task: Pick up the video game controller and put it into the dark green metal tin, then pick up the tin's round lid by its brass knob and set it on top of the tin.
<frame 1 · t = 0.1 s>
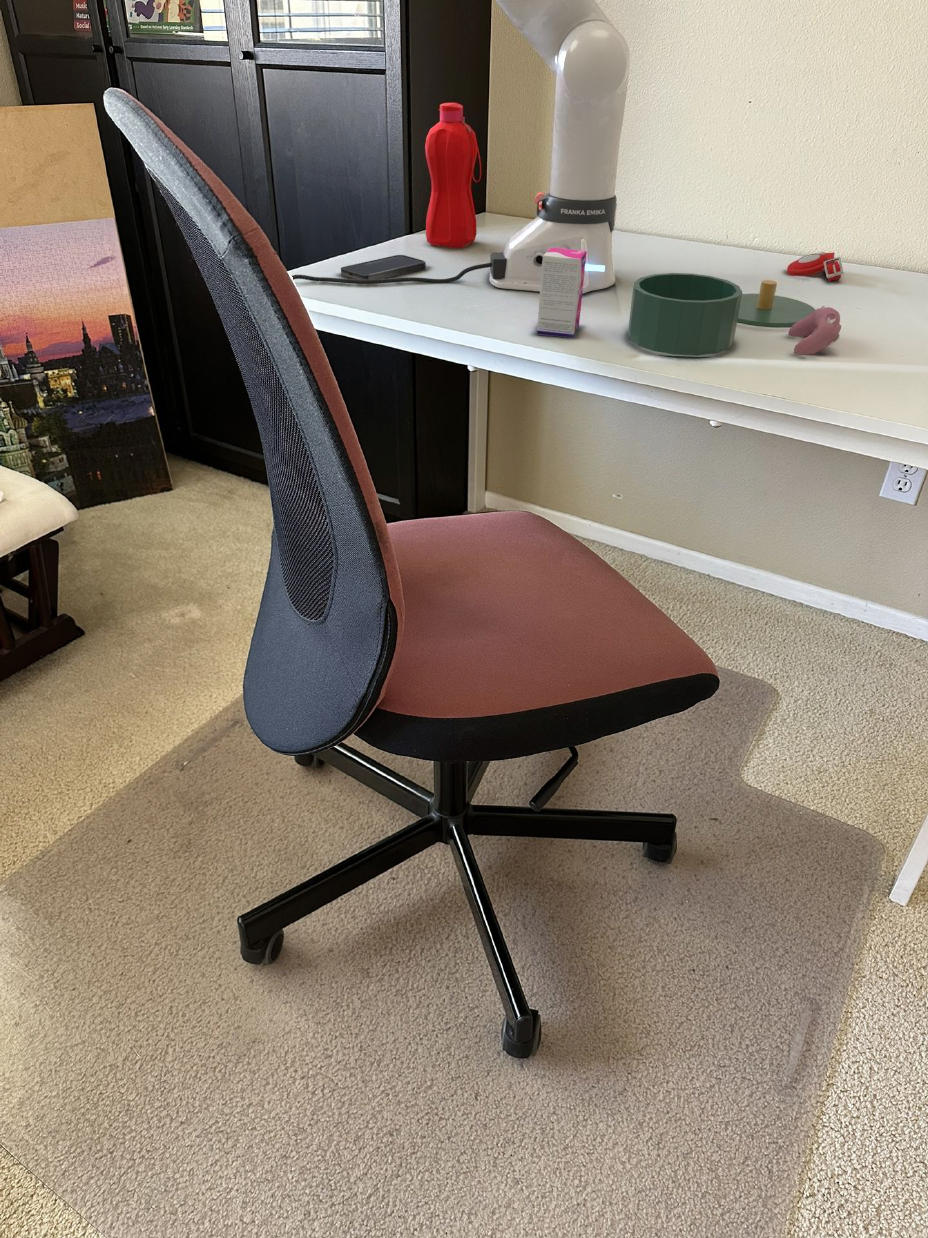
supplement box: (558, 332, 138), on the table
tracker holder: (814, 277, 165), on the table
phone: (383, 271, 165), on the table
tin lid: (763, 311, 145), point 1 cm above the table
water bottle: (455, 245, 183), on the table
tin: (679, 341, 134), on the table
video game controller: (810, 349, 132), on the table
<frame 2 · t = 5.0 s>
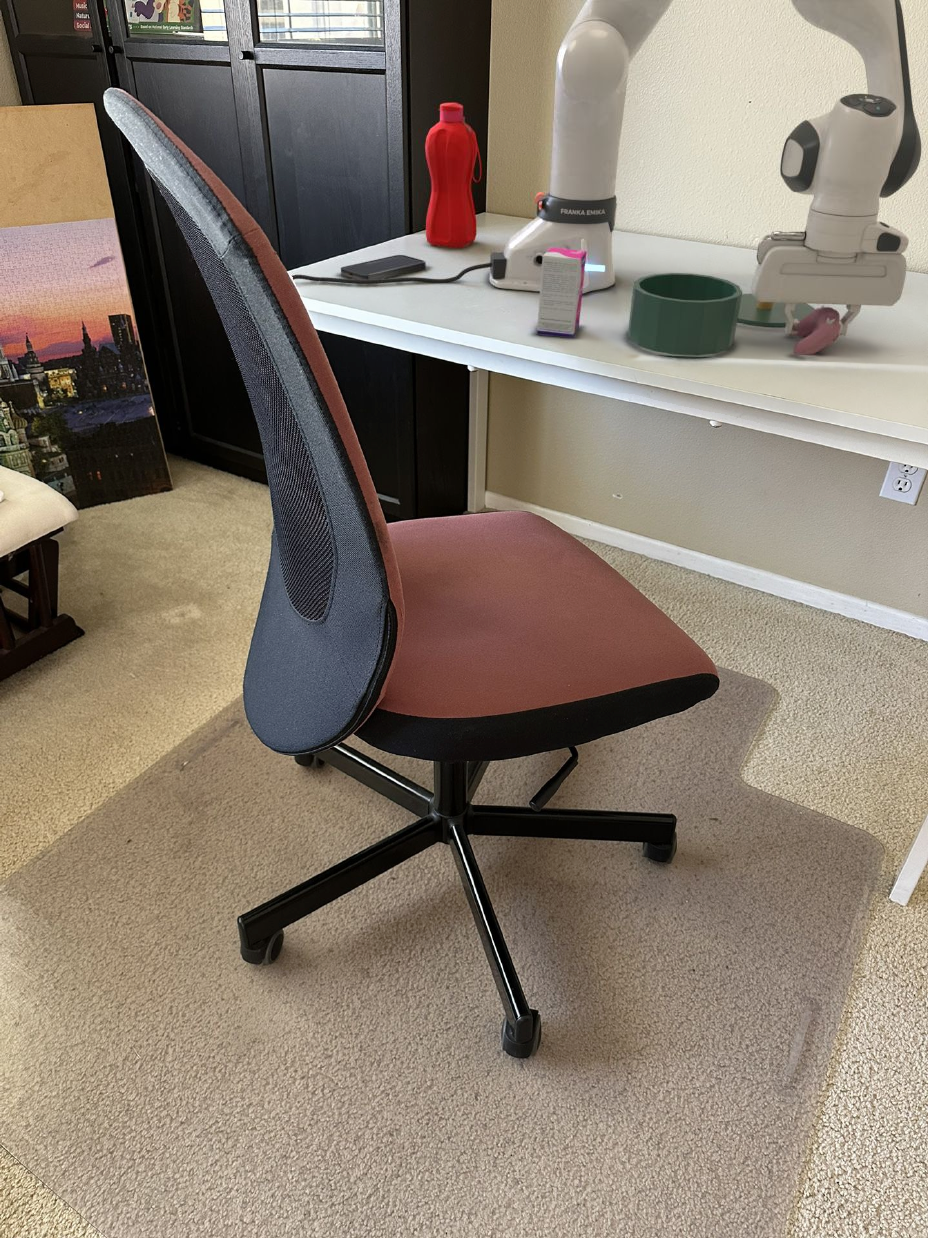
hand: (814, 333, 131), 2 cm above the table, tool pointing down, fingers closed on video game controller, 5 cm apart
video game controller: (810, 349, 132), on the table, touching gripper
everything else where it was.
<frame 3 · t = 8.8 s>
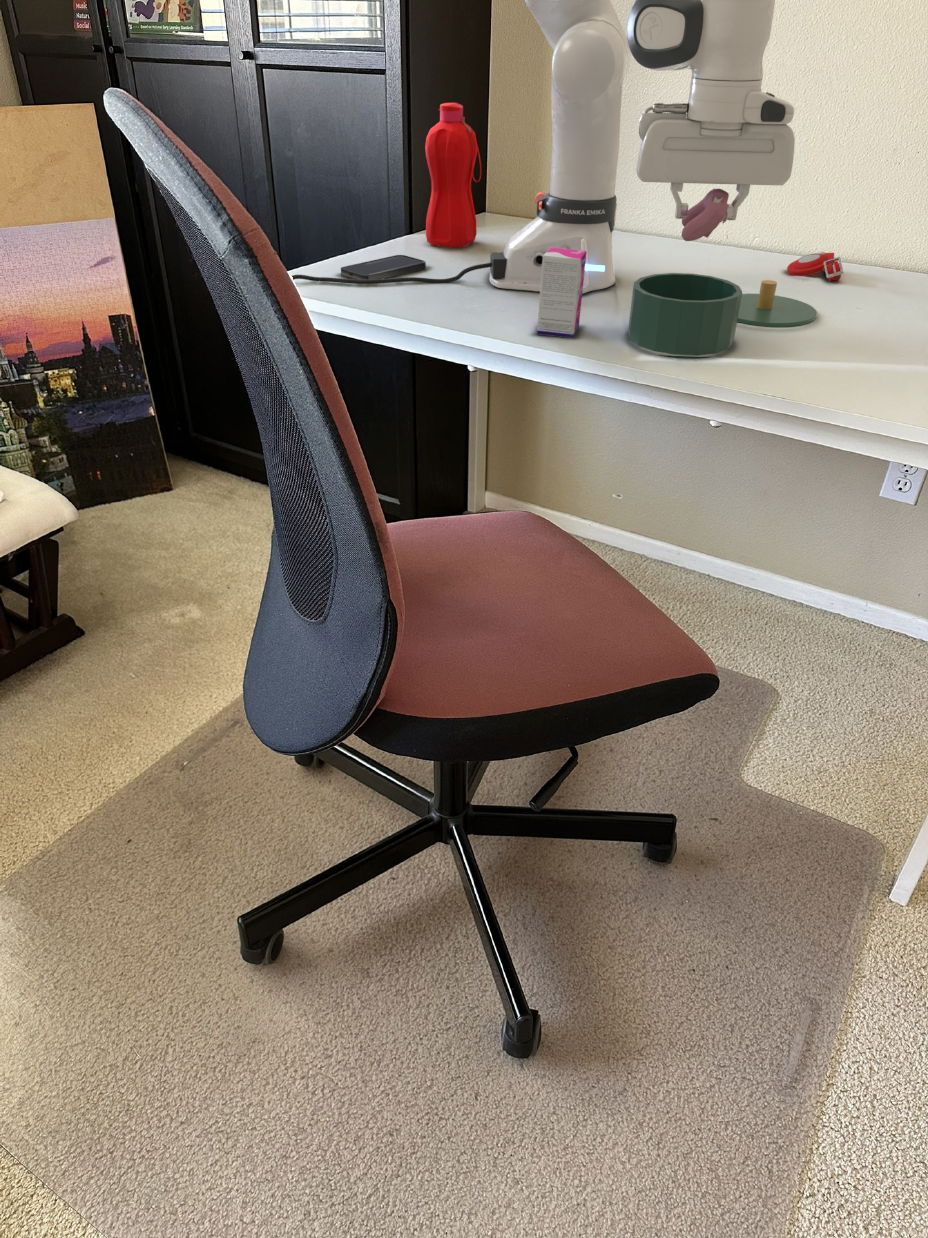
hand: (705, 218, 124), 17 cm above the table, tool pointing down, fingers closed on video game controller, 5 cm apart
video game controller: (702, 236, 126), point 15 cm above the table, touching gripper
everything else where it was.
when the fingers open (2 cm above the table, at t = 12.6 s): video game controller stays where it is, resting on tin.
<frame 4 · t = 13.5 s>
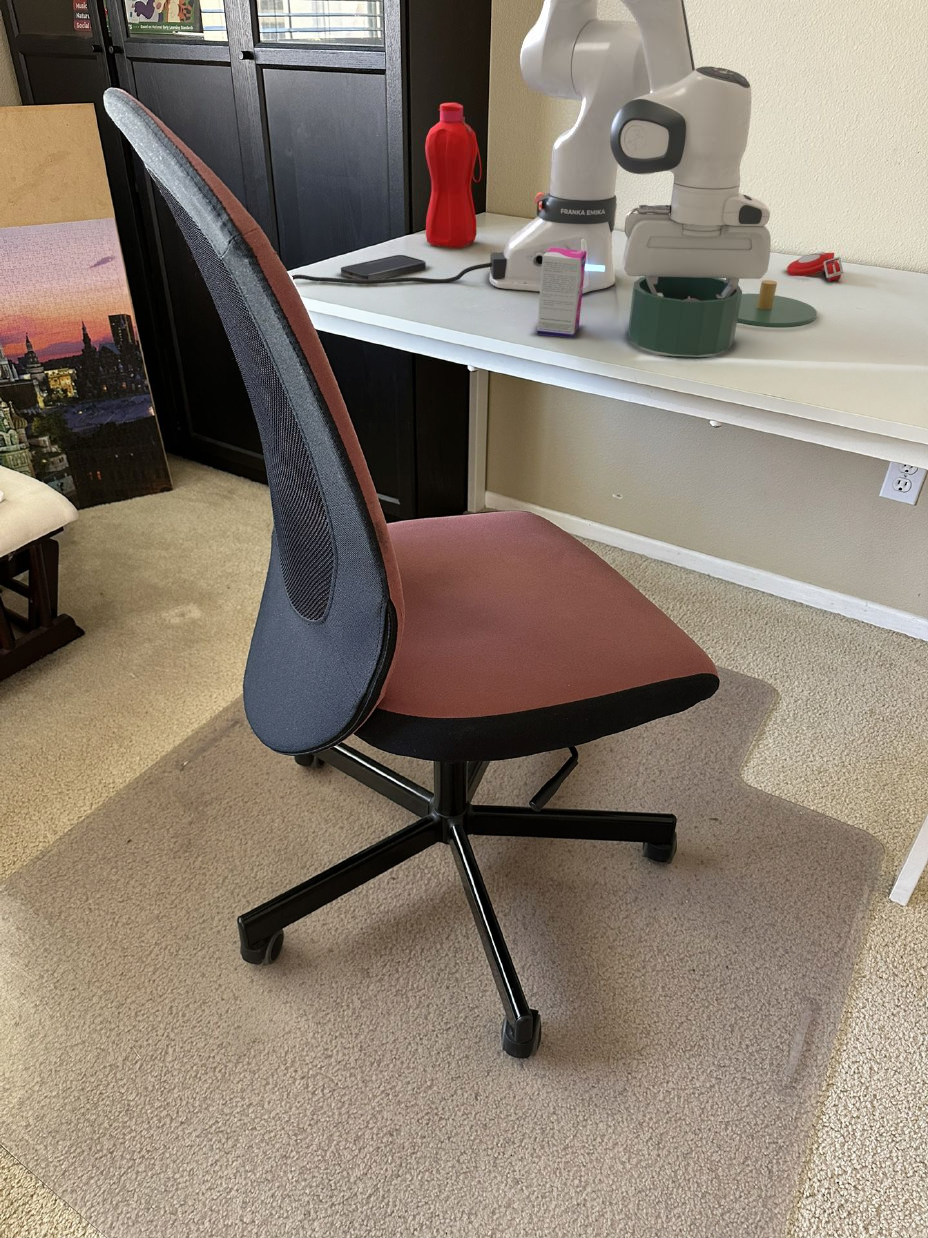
hand: (687, 307, 132), 5 cm above the table, tool pointing down, fingers open, 8 cm apart
video game controller: (676, 340, 134), resting on tin
everything else where it was.
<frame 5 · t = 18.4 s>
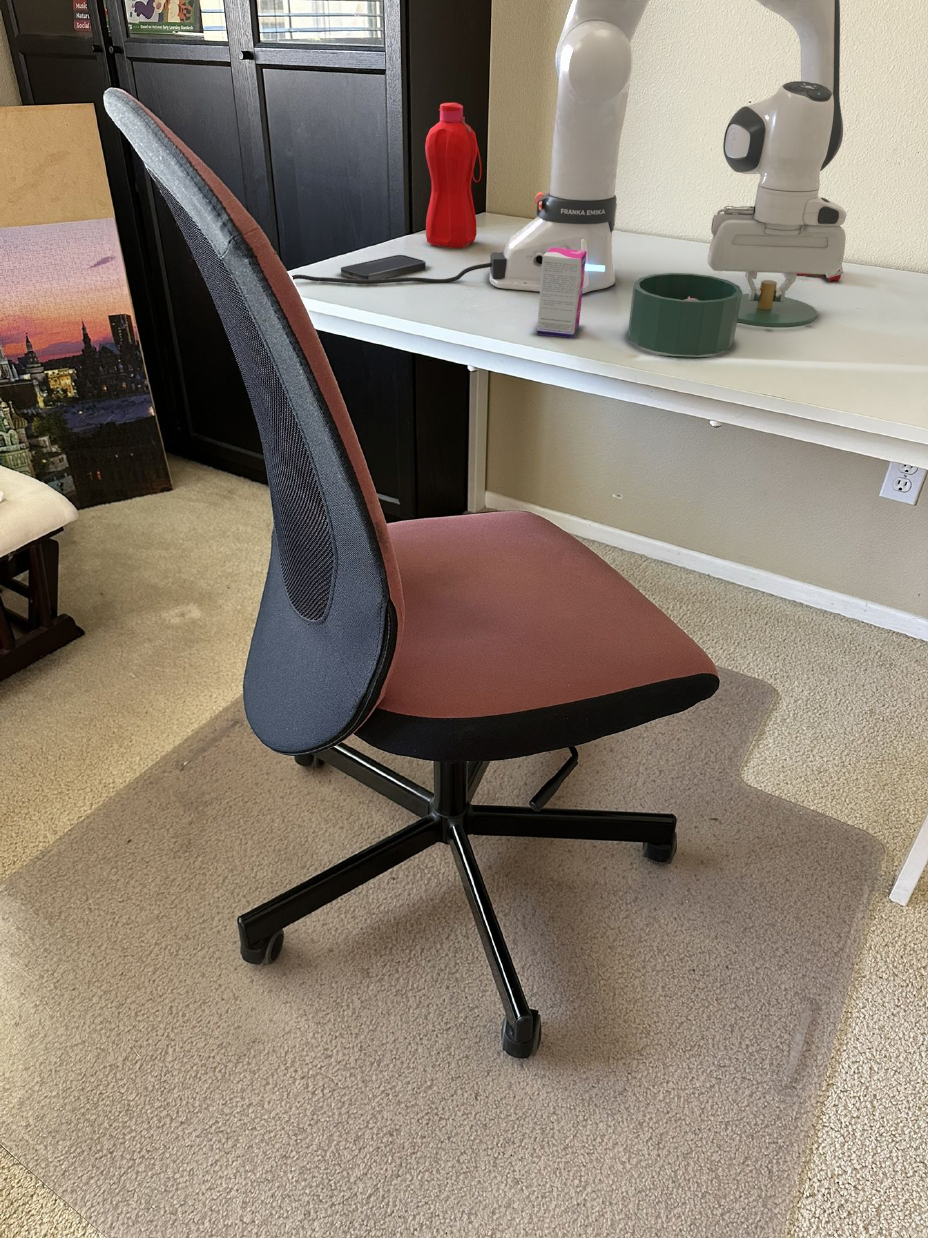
hand: (765, 300, 144), 2 cm above the table, tool pointing down, fingers closed on tin lid, 2 cm apart
tin lid: (763, 311, 145), point 1 cm above the table, touching gripper
everything else where it was.
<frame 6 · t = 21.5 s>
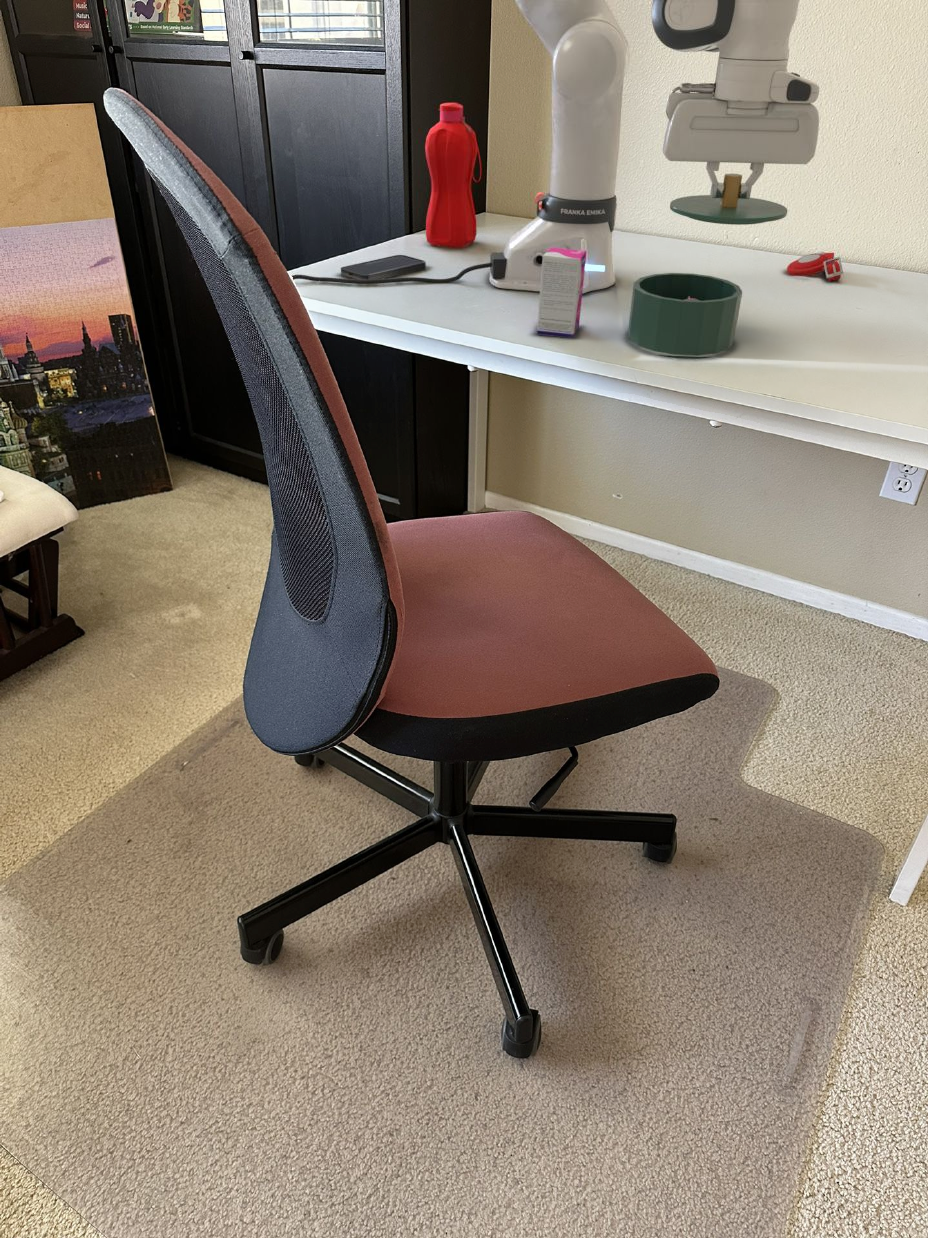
hand: (729, 197, 127), 19 cm above the table, tool pointing down, fingers closed on tin lid, 2 cm apart
tin lid: (727, 210, 128), point 17 cm above the table, touching gripper
everything else where it was.
when the fingers open (9 cm above the table, at t = 24.6 s): tin lid stays where it is, resting on tin.
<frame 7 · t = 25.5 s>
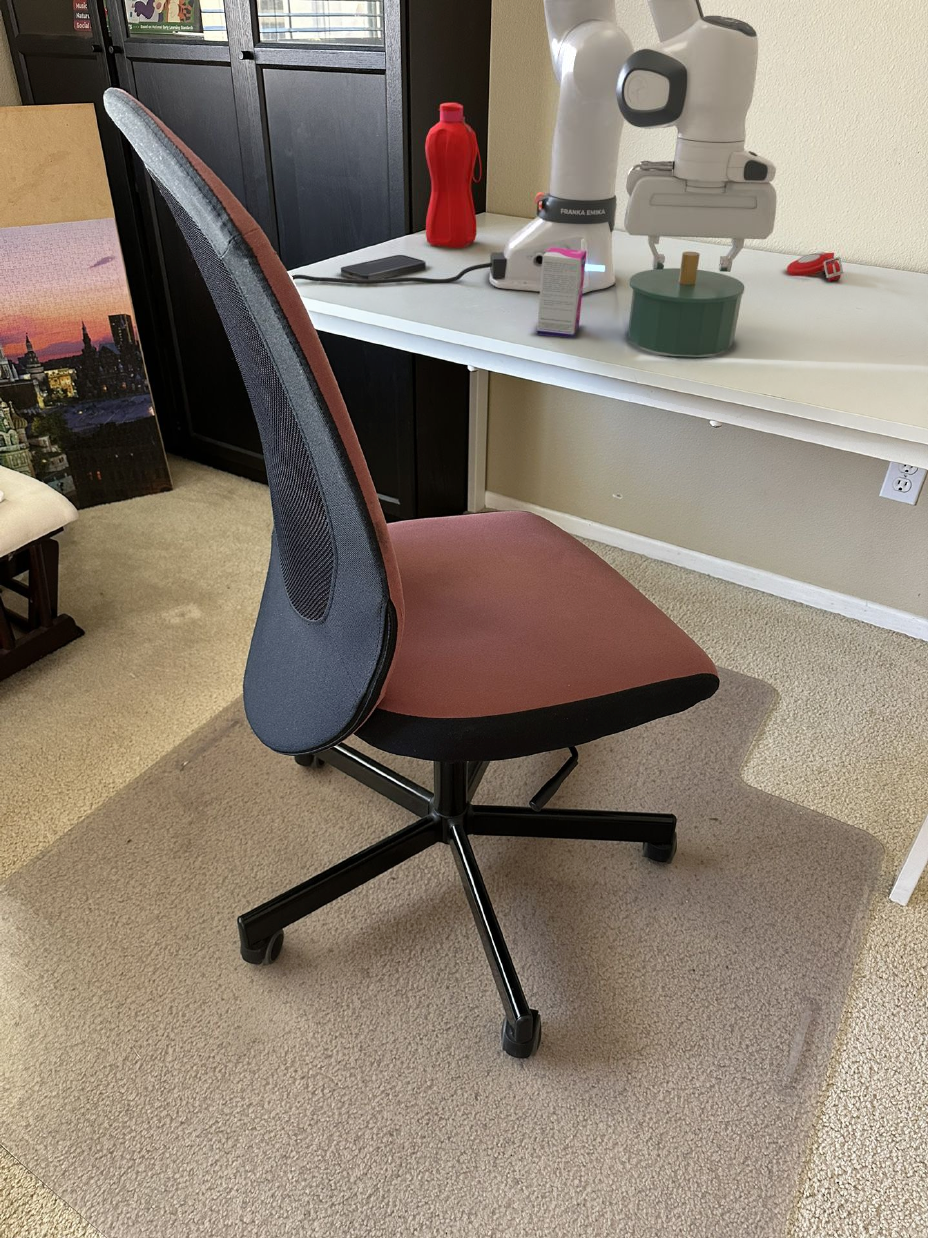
hand: (690, 269, 128), 10 cm above the table, tool pointing down, fingers open, 8 cm apart
tin lid: (686, 286, 130), point 8 cm above the table, touching tin
everything else where it was.
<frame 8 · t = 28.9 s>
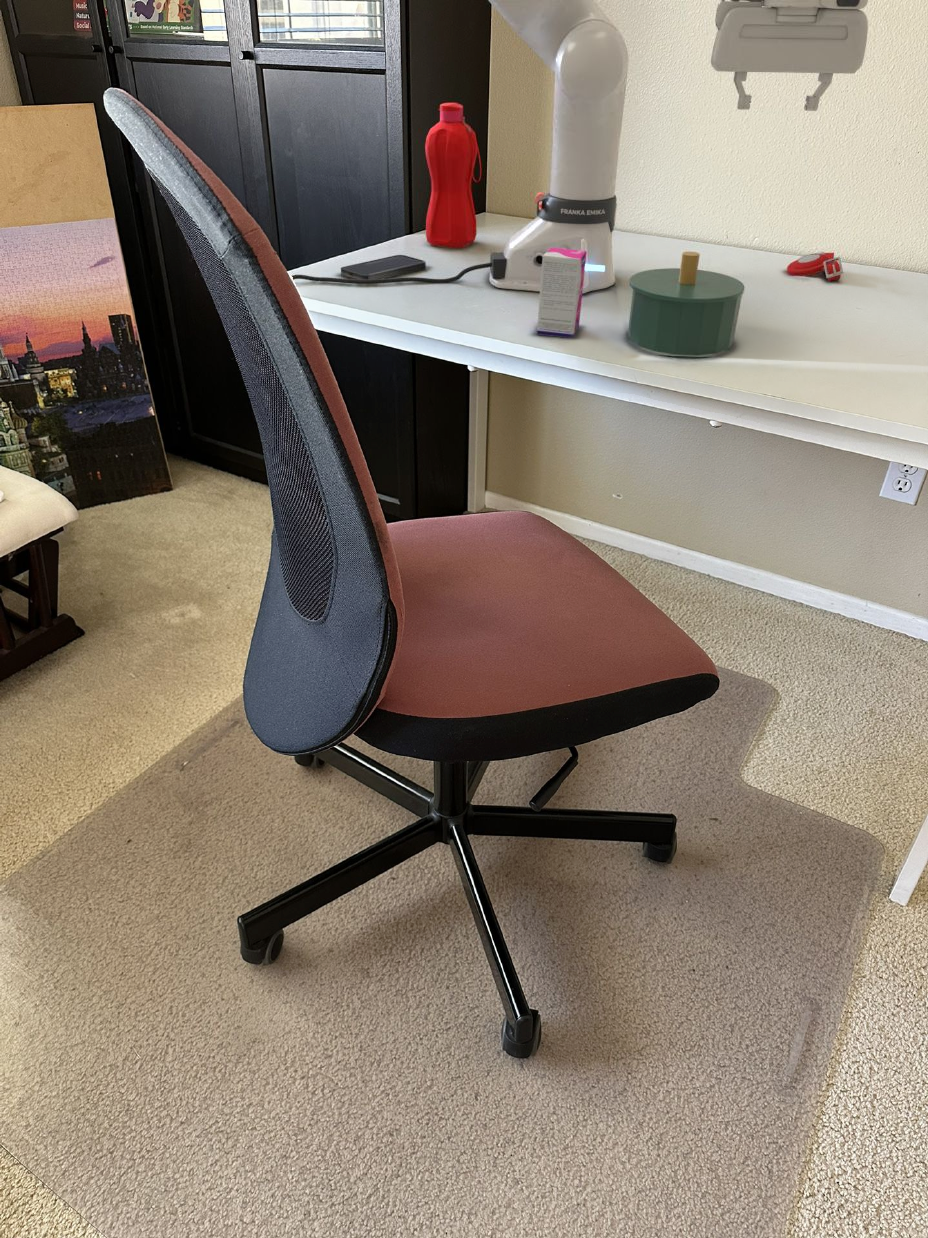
hand: (776, 109, 128), 29 cm above the table, tool pointing down, fingers open, 8 cm apart
nothing on the table moved.
at the end: video game controller inside the target area in the tin (0.4 cm from its centre), point 0.3 cm above the tin's base; tin lid 0.2 cm off-centre on the tin, point 7.9 cm above the tin's base; tin lid tilted 0° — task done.
